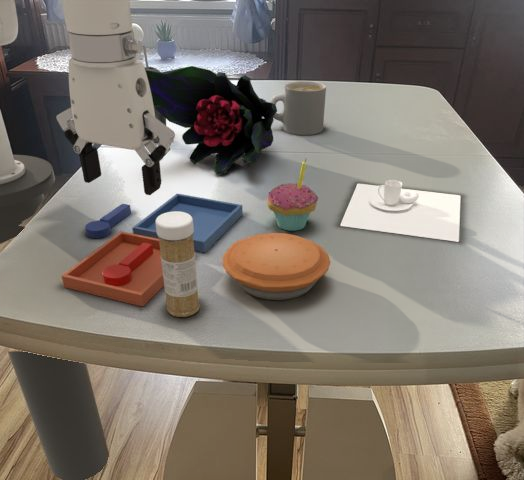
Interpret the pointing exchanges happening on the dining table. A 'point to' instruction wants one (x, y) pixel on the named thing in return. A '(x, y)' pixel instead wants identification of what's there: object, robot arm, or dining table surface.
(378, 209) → the teacup and saucer
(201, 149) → the decorative plant
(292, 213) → the cupcake
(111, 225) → the blue spoon
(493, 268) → the dining table surface
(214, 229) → the blue tray
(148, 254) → the red spoon
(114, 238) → the terracotta tray
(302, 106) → the coffee mug
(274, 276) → the pie
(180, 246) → the sprinkles bottle
